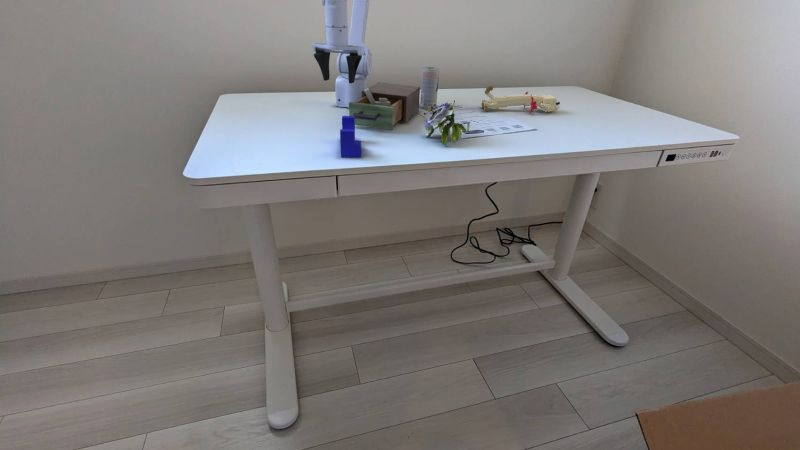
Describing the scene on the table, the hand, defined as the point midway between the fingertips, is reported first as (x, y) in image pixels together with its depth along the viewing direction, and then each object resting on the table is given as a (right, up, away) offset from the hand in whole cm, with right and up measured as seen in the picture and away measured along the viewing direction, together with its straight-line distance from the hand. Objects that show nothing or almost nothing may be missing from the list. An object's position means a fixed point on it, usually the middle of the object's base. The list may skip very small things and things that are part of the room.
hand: (339, 81), depth 109 cm
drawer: (+10, -12, 0) cm, 16 cm away
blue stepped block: (+5, -22, -15) cm, 27 cm away
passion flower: (+28, -18, -7) cm, 34 cm away
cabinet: (+14, -6, +11) cm, 19 cm away
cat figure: (+57, -2, +20) cm, 60 cm away
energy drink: (+26, -1, +20) cm, 33 cm away
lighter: (+11, -10, +1) cm, 15 cm away
